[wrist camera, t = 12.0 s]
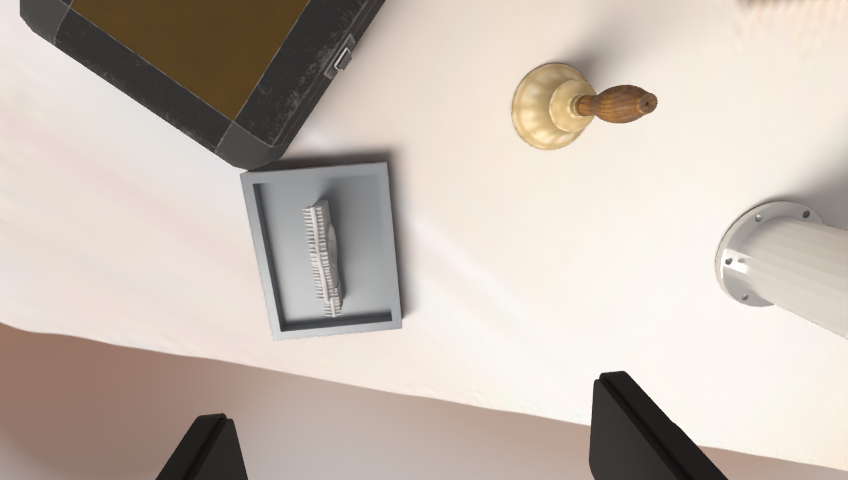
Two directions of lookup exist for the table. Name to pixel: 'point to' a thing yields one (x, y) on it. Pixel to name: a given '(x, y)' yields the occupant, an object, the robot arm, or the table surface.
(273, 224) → the tray
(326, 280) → the white toothed rack
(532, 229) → the table surface
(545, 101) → the hand bell
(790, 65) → the table surface
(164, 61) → the cash box
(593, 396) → the robot arm
